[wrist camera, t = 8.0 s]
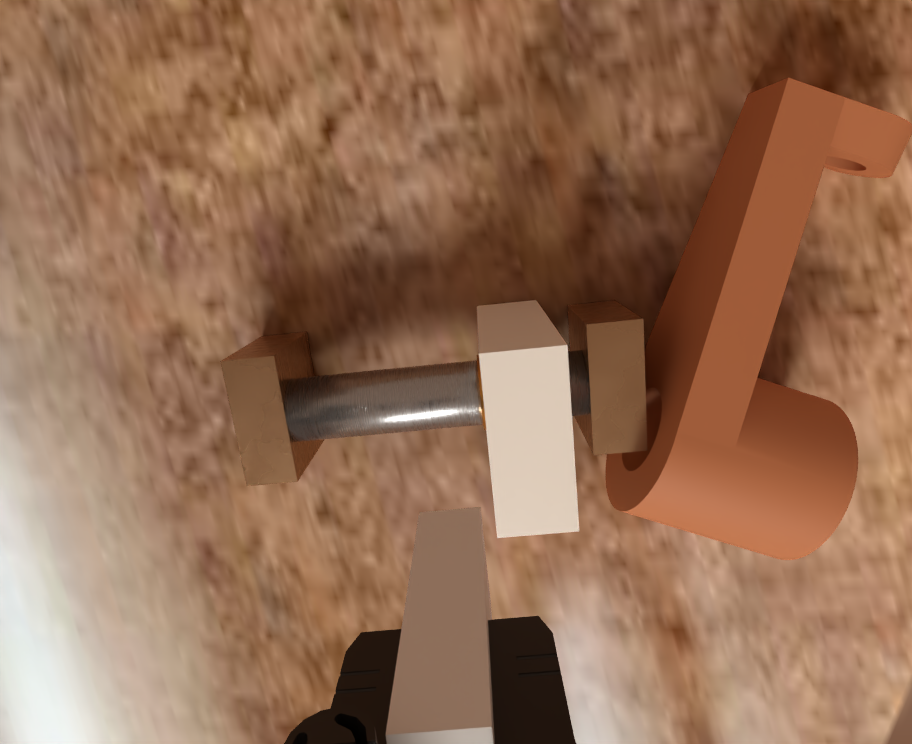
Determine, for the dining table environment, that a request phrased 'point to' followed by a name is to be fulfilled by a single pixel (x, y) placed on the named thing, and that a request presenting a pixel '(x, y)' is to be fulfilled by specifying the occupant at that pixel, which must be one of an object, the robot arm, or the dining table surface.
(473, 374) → the pipe rig
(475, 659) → the robot arm
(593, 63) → the dining table surface
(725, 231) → the crank
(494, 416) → the sleeve
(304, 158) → the dining table surface
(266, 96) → the dining table surface
